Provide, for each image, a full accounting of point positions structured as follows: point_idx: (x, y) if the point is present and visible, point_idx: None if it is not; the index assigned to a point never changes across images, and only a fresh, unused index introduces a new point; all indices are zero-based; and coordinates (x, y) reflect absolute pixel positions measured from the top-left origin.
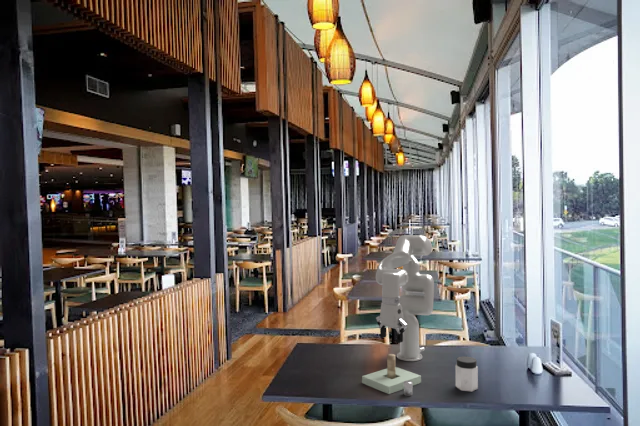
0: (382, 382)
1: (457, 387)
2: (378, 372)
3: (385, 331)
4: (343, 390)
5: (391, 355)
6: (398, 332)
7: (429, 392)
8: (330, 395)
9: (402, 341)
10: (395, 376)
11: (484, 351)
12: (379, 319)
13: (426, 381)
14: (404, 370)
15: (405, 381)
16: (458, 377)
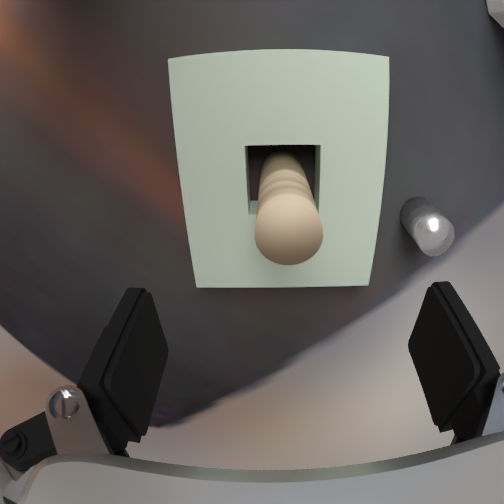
0: (316, 273)
1: (500, 24)
2: (198, 198)
3: (130, 356)
4: (223, 347)
5: (293, 237)
6: (465, 436)
7: (463, 136)
8: (233, 382)
9: (444, 284)
10: (302, 168)
11: None
12: (17, 500)
13: (381, 28)
14: (265, 57)
15: (425, 241)
16: None
